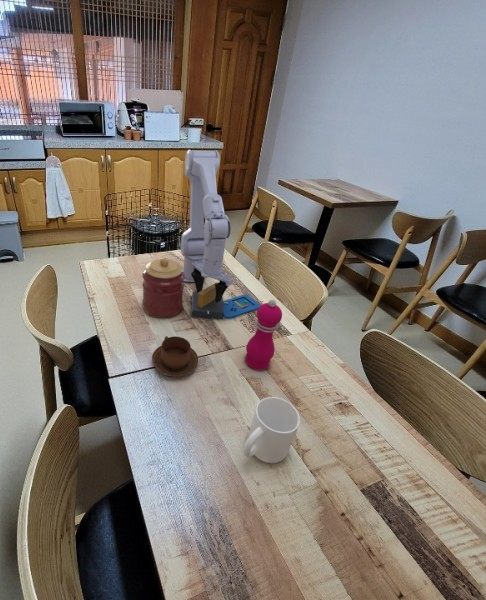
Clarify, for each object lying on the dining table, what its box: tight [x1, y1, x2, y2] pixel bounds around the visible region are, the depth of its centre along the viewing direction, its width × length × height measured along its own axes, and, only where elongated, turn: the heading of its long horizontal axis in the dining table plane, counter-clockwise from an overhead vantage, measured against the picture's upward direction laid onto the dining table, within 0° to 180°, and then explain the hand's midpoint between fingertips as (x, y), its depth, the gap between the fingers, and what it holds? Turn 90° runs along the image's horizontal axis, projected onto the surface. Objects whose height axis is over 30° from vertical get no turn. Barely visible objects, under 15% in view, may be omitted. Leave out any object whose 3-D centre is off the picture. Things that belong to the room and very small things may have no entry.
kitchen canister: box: [142, 256, 185, 319], centre depth 105 cm, size 13×13×18 cm
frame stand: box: [187, 291, 228, 320], centre depth 110 cm, size 13×13×3 cm
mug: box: [242, 396, 301, 464], centre depth 67 cm, size 12×8×10 cm
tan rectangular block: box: [197, 282, 218, 308], centre depth 108 cm, size 9×2×5 cm, turn 137°
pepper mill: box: [245, 299, 283, 371], centre depth 85 cm, size 7×7×20 cm
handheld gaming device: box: [223, 293, 262, 320], centre depth 112 cm, size 8×1×15 cm
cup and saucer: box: [151, 335, 199, 377], centre depth 87 cm, size 12×12×6 cm
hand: (208, 296), depth 108 cm, fingers open, 7 cm apart
